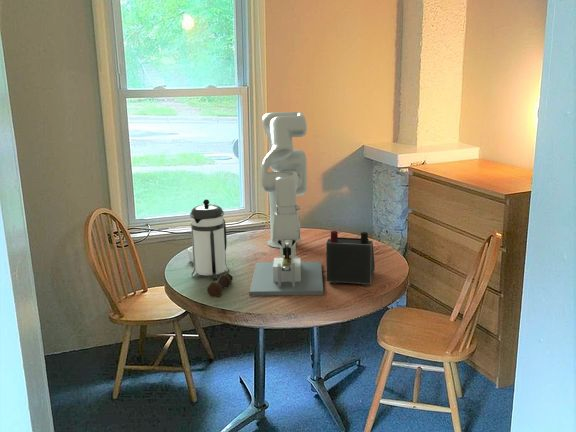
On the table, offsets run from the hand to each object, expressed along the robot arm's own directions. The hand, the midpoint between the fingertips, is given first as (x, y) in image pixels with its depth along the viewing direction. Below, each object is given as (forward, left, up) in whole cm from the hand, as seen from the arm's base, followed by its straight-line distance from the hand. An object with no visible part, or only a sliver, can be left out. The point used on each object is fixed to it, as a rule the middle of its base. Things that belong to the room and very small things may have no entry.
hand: (287, 256), depth 219 cm
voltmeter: (0, +24, -9) cm, 26 cm away
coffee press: (-7, -30, -9) cm, 32 cm away
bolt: (+10, -23, -9) cm, 27 cm away
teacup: (-23, -38, -9) cm, 45 cm away
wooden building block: (+6, 0, -5) cm, 8 cm away
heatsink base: (0, 0, -9) cm, 9 cm away
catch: (-10, 0, -7) cm, 12 cm away
